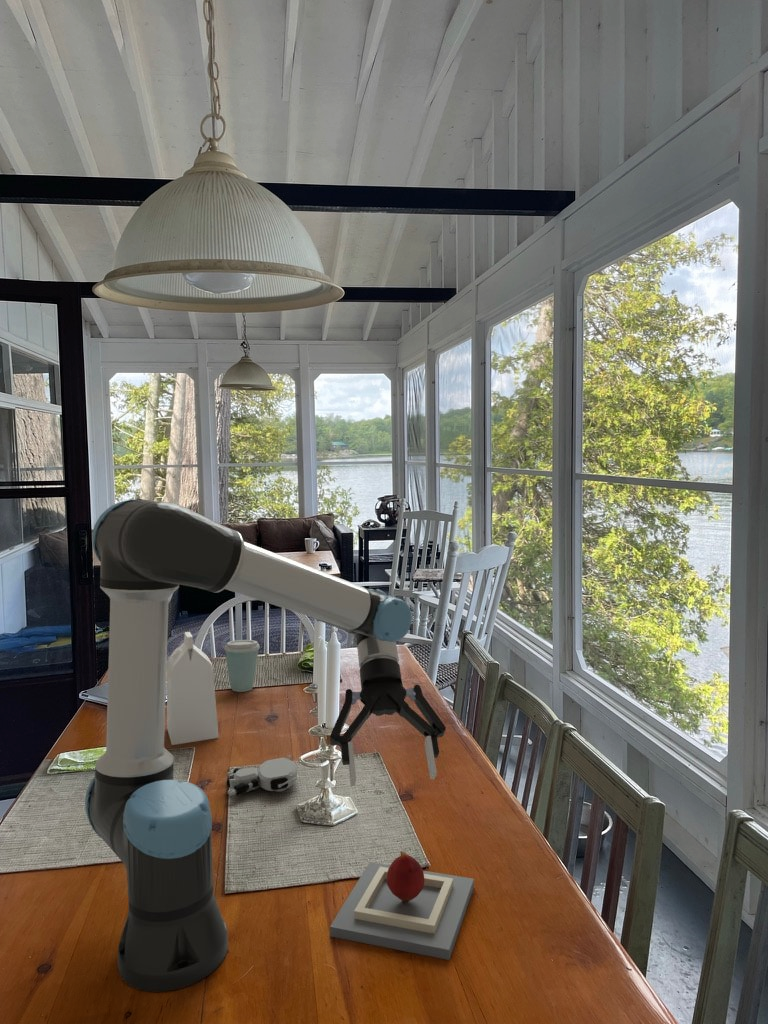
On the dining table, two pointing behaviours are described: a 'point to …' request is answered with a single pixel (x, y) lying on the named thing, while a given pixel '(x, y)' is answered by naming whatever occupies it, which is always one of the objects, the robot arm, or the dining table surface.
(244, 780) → the robot toy
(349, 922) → the plate
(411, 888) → the onion
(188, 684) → the milk
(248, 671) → the disposable coffee cup
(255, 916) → the dining table surface
